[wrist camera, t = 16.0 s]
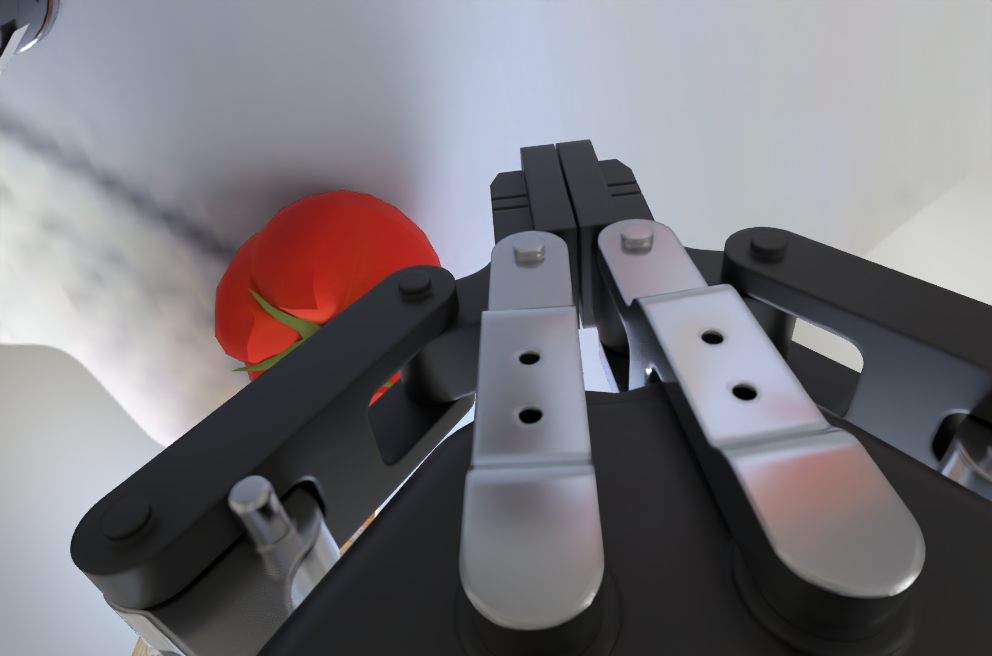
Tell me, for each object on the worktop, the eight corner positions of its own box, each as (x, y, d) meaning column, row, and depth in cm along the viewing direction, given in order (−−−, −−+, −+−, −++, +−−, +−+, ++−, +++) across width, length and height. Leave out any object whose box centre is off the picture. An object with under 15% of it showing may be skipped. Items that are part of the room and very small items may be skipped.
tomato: (472, 198, 43) (473, 308, 34) (411, 351, 51) (398, 472, 42) (264, 130, 40) (204, 233, 31) (235, 306, 48) (181, 427, 39)
